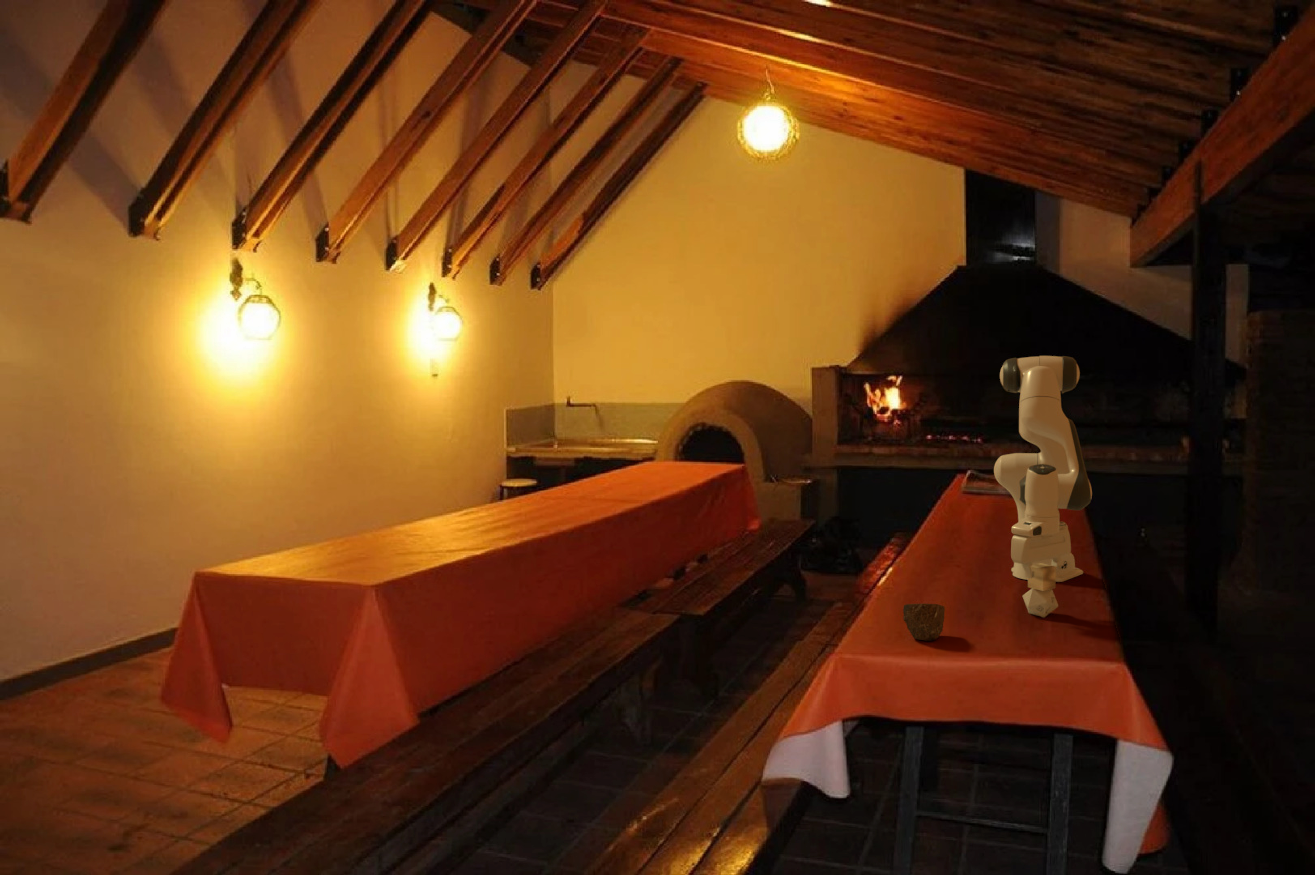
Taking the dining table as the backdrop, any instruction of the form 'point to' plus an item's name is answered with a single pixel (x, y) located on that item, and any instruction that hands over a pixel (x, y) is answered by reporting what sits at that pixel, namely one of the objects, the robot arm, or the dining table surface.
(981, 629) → the dining table surface
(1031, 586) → the beech block
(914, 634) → the rock
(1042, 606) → the die
